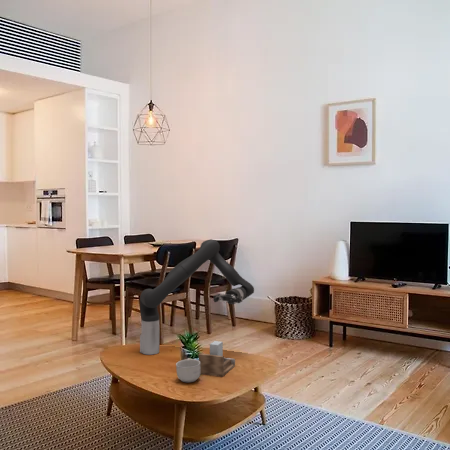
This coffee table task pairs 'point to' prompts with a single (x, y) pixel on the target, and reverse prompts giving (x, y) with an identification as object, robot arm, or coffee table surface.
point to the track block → (215, 364)
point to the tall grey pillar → (216, 348)
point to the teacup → (188, 370)
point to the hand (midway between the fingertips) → (222, 300)
